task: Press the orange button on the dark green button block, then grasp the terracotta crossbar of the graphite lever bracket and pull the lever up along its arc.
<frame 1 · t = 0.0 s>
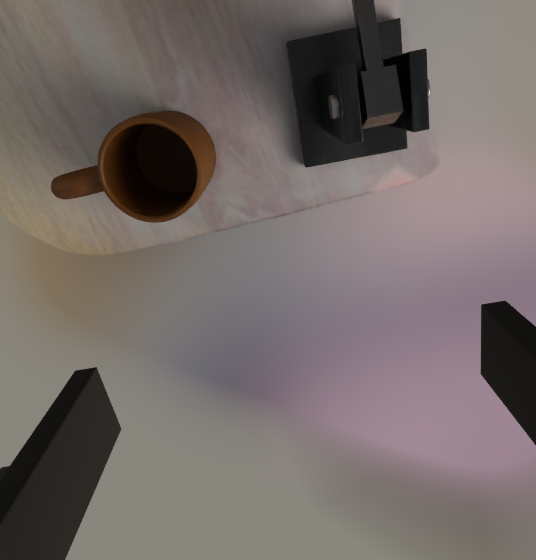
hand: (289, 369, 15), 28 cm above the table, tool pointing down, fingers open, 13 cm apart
bracket: (347, 97, 37), on the table
lever: (364, 15, 27), point 9 cm above the table, hinge at -20.0°
mug: (152, 159, 40), on the table
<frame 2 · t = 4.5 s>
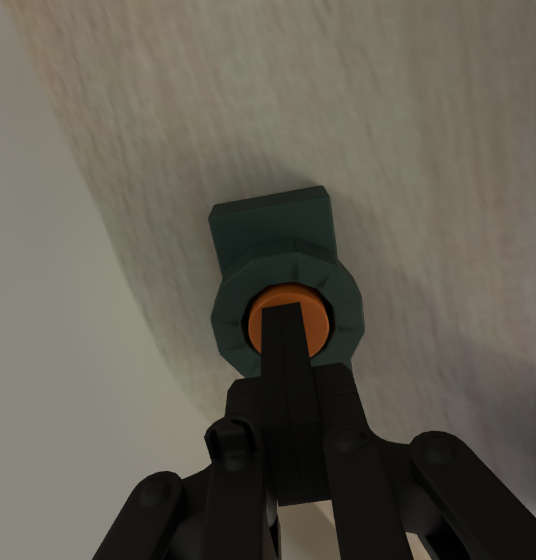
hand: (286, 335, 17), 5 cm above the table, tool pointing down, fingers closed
button block: (284, 285, 21), on the table
button: (287, 319, 18), point 3 cm above the table, slide at -0.9 cm, touching gripper
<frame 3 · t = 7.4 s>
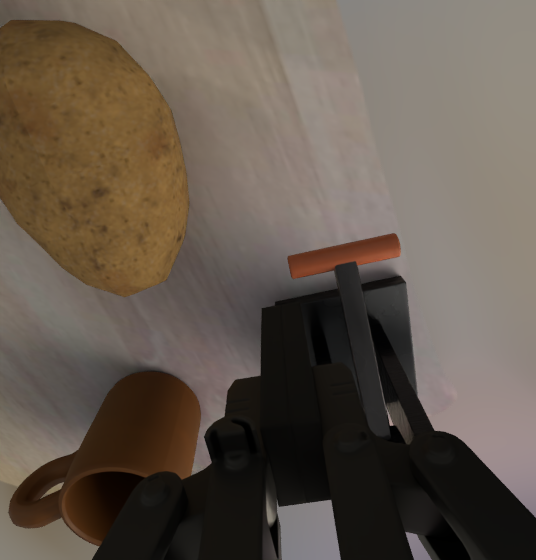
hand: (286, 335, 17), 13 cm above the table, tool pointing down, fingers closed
bracket: (347, 347, 33), on the table
lever: (366, 369, 22), point 9 cm above the table, hinge at -20.0°
potato: (120, 157, 27), on the table
mug: (129, 410, 35), on the table
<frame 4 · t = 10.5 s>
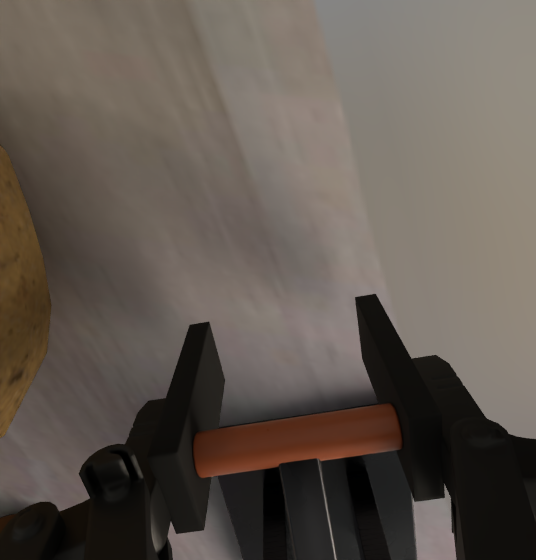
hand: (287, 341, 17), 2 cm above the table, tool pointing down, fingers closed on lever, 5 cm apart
bracket: (318, 490, 23), on the table
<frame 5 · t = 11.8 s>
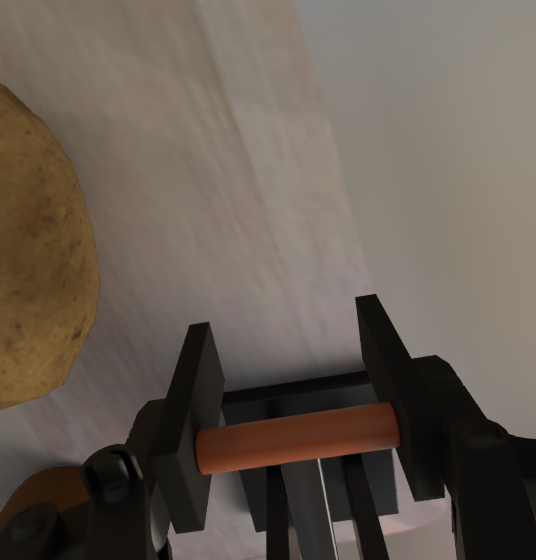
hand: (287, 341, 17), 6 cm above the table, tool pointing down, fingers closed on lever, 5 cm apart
bracket: (313, 448, 26), on the table
potato: (22, 213, 21), on the table
mug: (45, 508, 29), on the table
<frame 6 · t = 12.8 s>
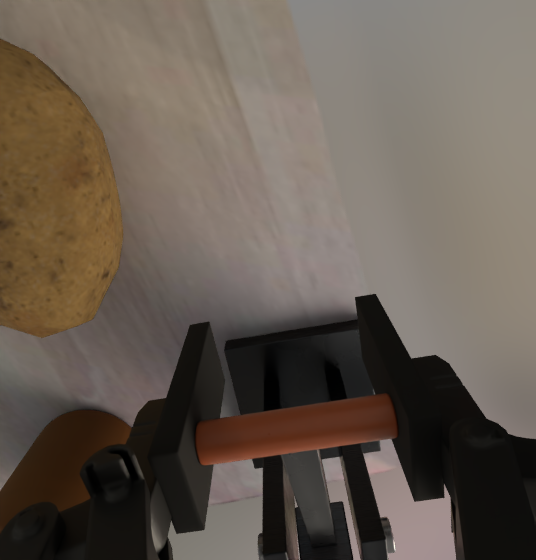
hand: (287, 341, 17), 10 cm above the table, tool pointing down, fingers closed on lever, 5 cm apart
bracket: (305, 392, 30), on the table
lever: (314, 503, 16), point 13 cm above the table, hinge at 21.3°, touching gripper
potato: (55, 179, 25), on the table
mug: (67, 449, 32), on the table
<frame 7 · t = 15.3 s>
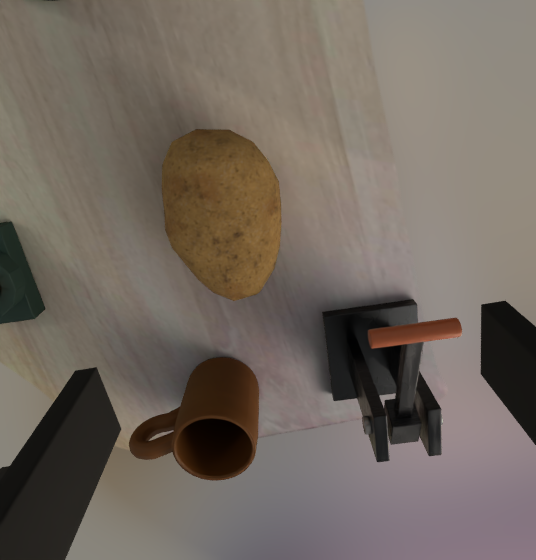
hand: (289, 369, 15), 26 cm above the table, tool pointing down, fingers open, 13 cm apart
bracket: (370, 348, 45), on the table
lever: (406, 385, 31), point 13 cm above the table, hinge at 21.5°
button block: (4, 270, 42), on the table
potato: (228, 205, 39), on the table
mug: (203, 386, 47), on the table
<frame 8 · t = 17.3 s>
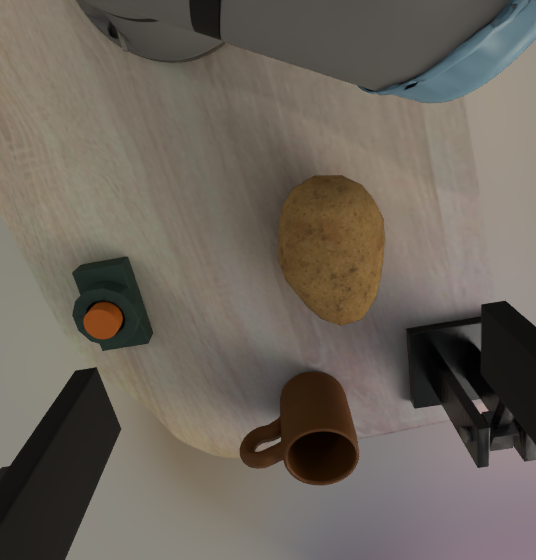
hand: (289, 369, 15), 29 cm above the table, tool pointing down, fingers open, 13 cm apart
bracket: (449, 360, 49), on the table
lever: (510, 401, 35), point 13 cm above the table, hinge at 21.5°
button block: (118, 300, 46), on the table
potato: (325, 236, 43), on the table
button: (103, 320, 41), point 4 cm above the table, slide at 0.1 cm
mug: (293, 397, 51), on the table
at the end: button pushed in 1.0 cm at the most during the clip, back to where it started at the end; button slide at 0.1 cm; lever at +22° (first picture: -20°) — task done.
